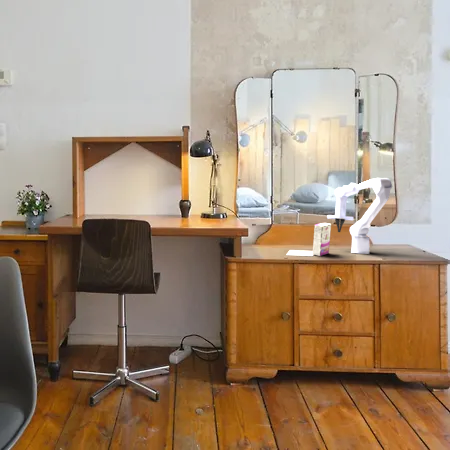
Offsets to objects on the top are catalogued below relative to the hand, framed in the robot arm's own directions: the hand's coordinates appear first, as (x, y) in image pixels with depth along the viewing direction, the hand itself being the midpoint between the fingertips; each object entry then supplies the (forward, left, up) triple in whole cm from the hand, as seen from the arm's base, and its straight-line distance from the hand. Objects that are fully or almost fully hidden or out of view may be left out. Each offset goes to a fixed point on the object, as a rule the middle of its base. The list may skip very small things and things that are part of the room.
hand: (339, 232), depth 257 cm
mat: (+20, +20, -10) cm, 30 cm away
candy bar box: (+9, +20, -10) cm, 24 cm away
